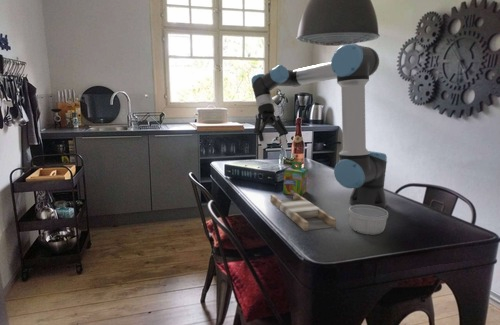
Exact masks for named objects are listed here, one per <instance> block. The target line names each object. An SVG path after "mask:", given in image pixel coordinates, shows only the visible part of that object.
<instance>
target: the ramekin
mask: <svg viewBox="0 0 500 325" xmlns="http://www.w3.org/2000/svg"><path fill="white" fill-rule="evenodd" d="M348 216H349V225H350V226H349V227H350V228H351V229H352V230H353V231H354V232H356V231H357V232H356V233H359V234H364V235H369V234H370V235H373V236H374V235H379V234H381V233H383V232H384V230H385V228H386V225H387V220H388V218H389V211H388V210H386V209H385V208H384V209H383V208H380V207H377V206H372V205H350V206H349V208H348Z"/></svg>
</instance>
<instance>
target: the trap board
mask: <svg viewBox="0 0 500 325" xmlns="http://www.w3.org/2000/svg"><path fill="white" fill-rule="evenodd" d="M270 202H271V203H272V205H274V206H275V207H276V208H278V209H279V210H280V211H281V212H282V213H284V215H285V216H287V217H288V218H289V219H290V220H291V221H293V222H294V223H295V224H296V225H297V226H298V227H300V228H301V229H302V230H303V231H304V232H305V231H306V232H307V231H315V230H322V229H323V230H325V229H331V228H336V222H337V221H336V218H334V217H333V216H332V215H330V214H329V213H327V212H326V211H324V210H323V209H321V208H320V207H318V206H316V205H315V204H314V203H312V202H310V201H309V200H307V199H306V198H305V197H303V195H302V196H300V195H299V194H297V193H293V195H292V198H289V199H279V198H278V197H277V196H276V195H274V194H270Z"/></svg>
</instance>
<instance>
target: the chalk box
mask: <svg viewBox="0 0 500 325" xmlns="http://www.w3.org/2000/svg"><path fill="white" fill-rule="evenodd" d="M295 165H298V166H297V167H296V166H295ZM302 166H303V162H302V161H301V162H300V161H292V162H291V166H288V167H287V168H285V169H284V175H283V186H282V188H283V190H282V194H283V195H291V196H293V193H297V194H299V195H300V196H302V197H303V195H304V194H306V192H307V183H308V173H309V172H308V168H307V167H306V168H305V167H302Z"/></svg>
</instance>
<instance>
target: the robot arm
mask: <svg viewBox="0 0 500 325" xmlns="http://www.w3.org/2000/svg"><path fill="white" fill-rule="evenodd" d="M379 65H380V57H379V54H378V53H377V51H376V50H375V49H374V48H371V47H369V46H364V45H363V46H362V45H358V44H356V43H348V44H343V45H341V46H340V47H338V48H337V49H336V51H335V52H334V53H333V55H332V57H331V60H330V61H328V62H324V63H323V62H322V63H319V64H315V65H310V66H306V67H302V68H301V67H300V68H295V69H287V67H286V66H283V64H278V65H276V66H275V67H272V69H271V70H269V71H268V72H266V73H257V74H255V75H253V76H252V77H251V86H252V90H253V94H254V98H255V102H256V106H257V111H258V113H257V114H256V115H255V123H254V129H253V133H254V134H255V135H256V136H257V137H258V139H259V142H260V145H261V149H262V150H264V149H266V148H268V143H267V139H266V135H265V132H264V131H265V128H266V126H271V127H273V128H274V130H275V131H276V132H277V133H278V134H279V138H280V142H281V143H280V144H281V147H282V150H286V149H289V146H288V140H287V136H286V135H288V134H289V132H288V129H287V128H286V127H285V125H284V123H283V121H282V120H281V117H280V115H277V116H275V111H276V110H275V107H274V104H273V99H272V95H271V94H272V93H271V91H273V89H275V88H277V87H293V88H294V87H295V88H296V87H301V86H302V85H307V84H312V83H319V82H324V81H331V80H336V84H338V85H339V86H340V88H341V120H342V122H341V123H342V124H341V126H342V131H341V132H342V149H341V151H339V152H338V161H337V163H336V164H335V166H334V168H333V174H334V179H335V180H336V182H338V183H339V185H340V186H341V187H343V188H346V189H352V192H351V193H350V196H349V204H350V206H353V205H372V206H377V207H380V208H383V209H385V208H387V197H386V192H385V190H384V189H385V188H384V187H385V180H386V172H387V170H386V169H387V163H388V161H387V158H388V157H387V154H386V153H383V152H378V151H371V150H368V149H367V147H366V142H367V141H366V84H367V83H368V82H369V81H370V76H372V75H374V73H375V72H377V70H378V67H379Z"/></svg>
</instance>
